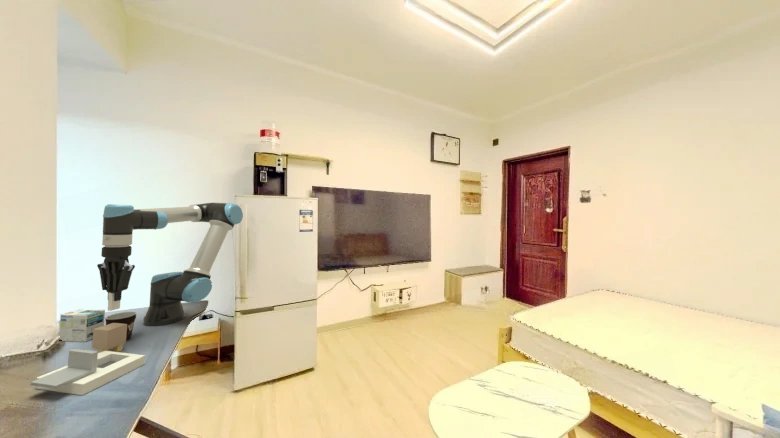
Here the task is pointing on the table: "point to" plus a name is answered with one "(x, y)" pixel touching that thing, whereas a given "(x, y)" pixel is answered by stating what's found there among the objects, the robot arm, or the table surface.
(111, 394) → the table surface
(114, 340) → the plug
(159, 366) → the table surface
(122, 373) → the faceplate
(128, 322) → the coffee mug
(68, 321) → the light bulb box
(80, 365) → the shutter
